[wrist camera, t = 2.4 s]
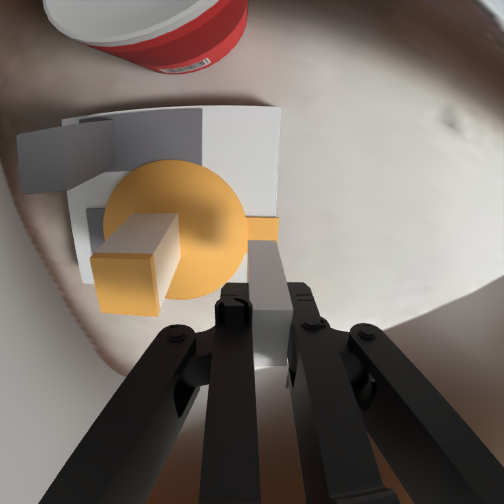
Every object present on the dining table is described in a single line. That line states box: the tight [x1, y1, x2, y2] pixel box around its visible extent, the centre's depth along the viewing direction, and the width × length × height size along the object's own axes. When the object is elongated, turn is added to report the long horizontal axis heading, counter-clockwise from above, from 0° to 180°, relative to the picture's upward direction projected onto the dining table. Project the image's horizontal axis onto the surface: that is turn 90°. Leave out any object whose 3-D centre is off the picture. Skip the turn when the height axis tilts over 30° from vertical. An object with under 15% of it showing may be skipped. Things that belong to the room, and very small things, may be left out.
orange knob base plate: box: [16, 105, 281, 300], centre depth 18 cm, size 13×14×8 cm
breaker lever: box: [89, 213, 181, 317], centre depth 17 cm, size 3×3×7 cm
